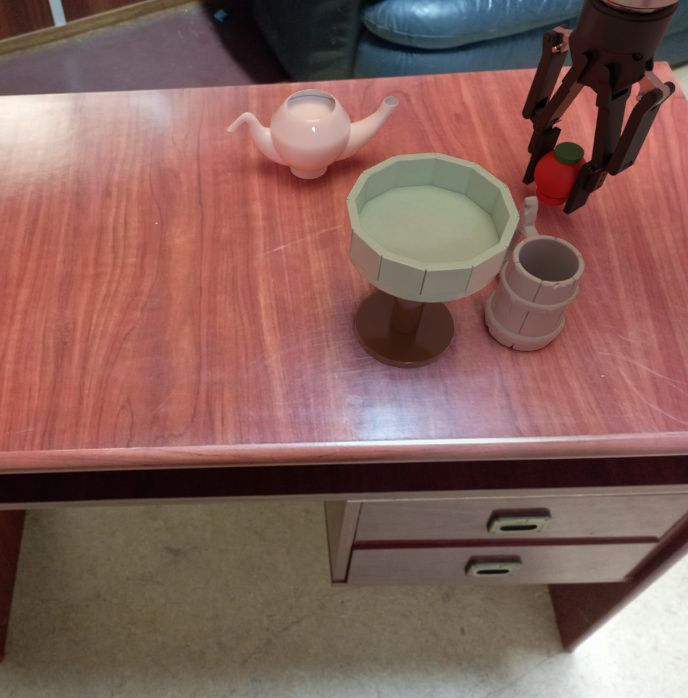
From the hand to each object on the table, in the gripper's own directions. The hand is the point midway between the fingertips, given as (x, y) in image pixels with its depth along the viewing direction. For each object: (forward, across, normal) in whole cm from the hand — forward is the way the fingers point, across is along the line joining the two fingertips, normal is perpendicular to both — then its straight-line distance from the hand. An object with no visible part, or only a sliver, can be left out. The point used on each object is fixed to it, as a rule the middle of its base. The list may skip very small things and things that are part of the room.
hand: (553, 192), depth 82 cm
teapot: (+2, -22, -18) cm, 29 cm away
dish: (+2, +4, -25) cm, 25 cm away
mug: (+3, +8, -14) cm, 16 cm away
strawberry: (0, 0, 0) cm, 0 cm away
